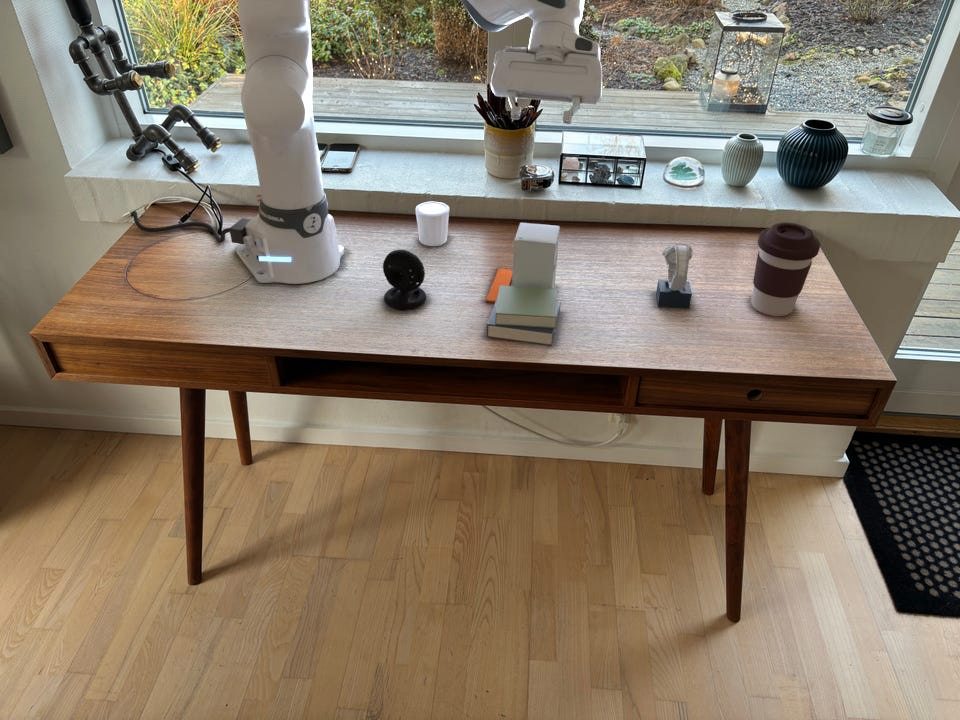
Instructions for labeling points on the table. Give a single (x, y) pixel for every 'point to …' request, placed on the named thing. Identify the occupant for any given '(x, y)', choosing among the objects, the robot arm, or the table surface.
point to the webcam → (404, 280)
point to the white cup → (432, 223)
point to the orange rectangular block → (499, 284)
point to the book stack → (525, 315)
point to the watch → (675, 278)
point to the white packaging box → (535, 256)
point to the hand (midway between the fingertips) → (540, 120)
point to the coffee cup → (782, 267)
